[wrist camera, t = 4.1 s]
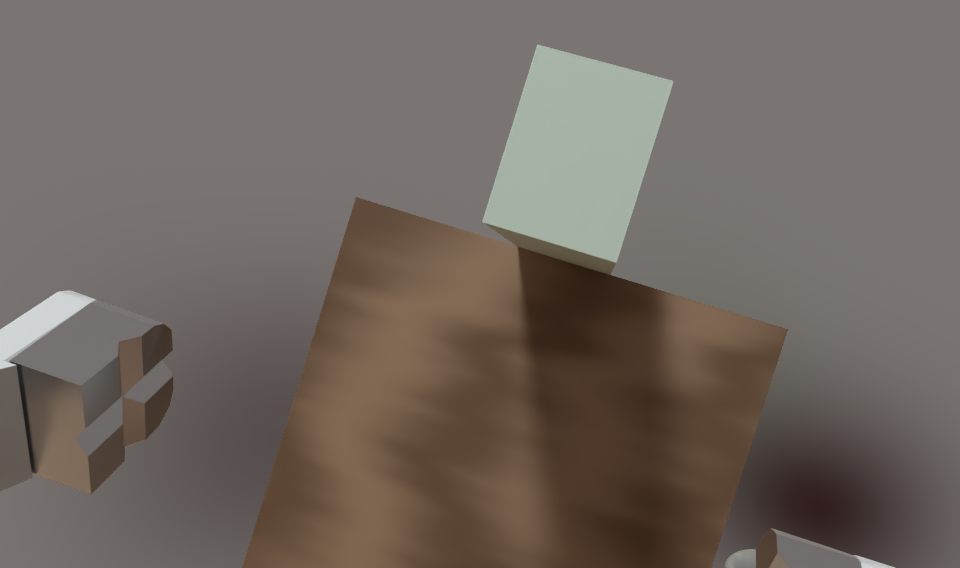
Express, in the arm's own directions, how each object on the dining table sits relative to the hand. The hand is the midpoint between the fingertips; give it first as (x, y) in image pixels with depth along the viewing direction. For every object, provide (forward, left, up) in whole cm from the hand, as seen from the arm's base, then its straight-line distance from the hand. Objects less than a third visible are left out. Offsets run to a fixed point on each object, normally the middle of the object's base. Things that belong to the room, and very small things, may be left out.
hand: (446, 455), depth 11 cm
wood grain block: (0, -21, -23) cm, 31 cm away
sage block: (0, -17, +3) cm, 18 cm away
